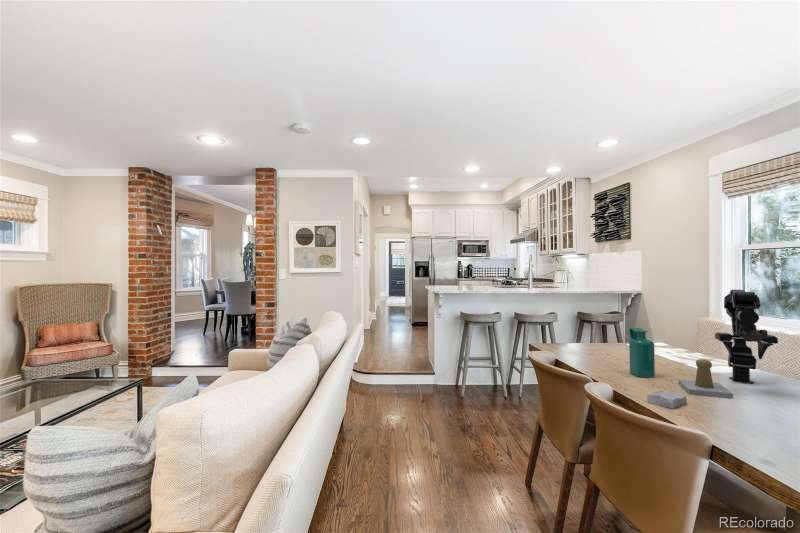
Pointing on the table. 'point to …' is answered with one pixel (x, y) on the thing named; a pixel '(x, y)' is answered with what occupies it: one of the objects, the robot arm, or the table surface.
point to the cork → (703, 374)
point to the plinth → (705, 389)
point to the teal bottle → (641, 354)
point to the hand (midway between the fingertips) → (745, 358)
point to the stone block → (667, 399)
